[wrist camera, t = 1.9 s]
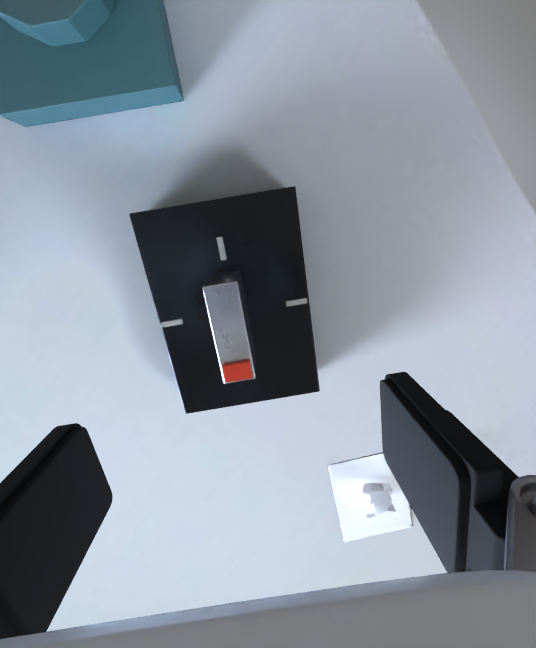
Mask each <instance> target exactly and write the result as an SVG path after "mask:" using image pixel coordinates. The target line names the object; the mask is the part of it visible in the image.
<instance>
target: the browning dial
mask: <svg viewBox="0 0 536 648" xmlns="http://www.w3.org/2000/svg"><path fill="white" fill-rule="evenodd" d="M202 290H203V294H204V299H205V303H206V307H207V312H208V316H209V321H210V325H211V329H212V334H213V338H214V342H215V347H216V351H217V356H218V360H219V364H220V369H221V373H222V378H223V382H224V383H225V384H226V383H232V382H238V381H244V380H250V379H255V378H256V369H255V346H254V340H253V335H252V330H251V324H250V319H249V313H248V308H247V303H246V297H245V292H244V286H243V281H242V276H241V270H240V269H237V270H231V271H225V272H219V273H214V274H212V276H211V277H210V278H209V279H208V281H207V282H206V283H205V284H204V286H203V287H202Z"/></svg>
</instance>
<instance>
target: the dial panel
mask: <svg viewBox="0 0 536 648" xmlns="http://www.w3.org/2000/svg"><path fill="white" fill-rule="evenodd" d="M130 218H131V222H132V225H133V229H134V232H135V236H136V240H137V243H138V247H139V250H140V254H141V257H142V261H143V264H144V268H145V271H146V275H147V279H148V282H149V286H150V289H151V293H152V296H153V300H154V303H155V307H156V310H157V314H158V318H159V321H160V325H161V328H162V332H163V335H164V339H165V342H166V346H167V350H168V353H169V357H170V360H171V364H172V367H173V371H174V374H175V378H176V381H177V385H178V389H179V392H180V396H181V399H182V403H183V406H184V410H185V413H186V414H187V413H193V412H199V411H205V410H211V409H217V408H223V407H229V406H235V405H241V404H247V403H253V402H259V401H265V400H270V399H276V398H282V397H288V396H294V395H300V394H306V393H312V392H318V391H320V389H319V381H318V372H317V364H316V356H315V347H314V339H313V330H312V322H311V314H310V305H309V297H308V289H307V280H306V272H305V264H304V255H303V247H302V239H301V230H300V222H299V213H298V205H297V197H296V188H295V186H293V187H287V188H281V189H275V190H269V191H263V192H257V193H251V194H245V195H239V196H233V197H227V198H221V199H215V200H209V201H203V202H197V203H191V204H185V205H179V206H173V207H167V208H161V209H155V210H149V211H143V212H137V213H131V214H130ZM237 269H240V270H241V276H242V281H243V286H244V292H245V297H246V303H247V308H248V313H249V319H250V324H251V330H252V335H253V340H254V346H255V369H256V378H255V379H250V380H244V381H238V382H232V383H226V384H225V383H224V382H223V378H222V373H221V369H220V364H219V360H218V356H217V351H216V347H215V342H214V338H213V334H212V329H211V325H210V321H209V316H208V312H207V307H206V303H205V299H204V294H203V290H202V287H203V286H204V284H205V283H206V282H207V281H208V279H209V278H210V277H211V276H212V274H214V273H219V272H225V271H231V270H237Z"/></svg>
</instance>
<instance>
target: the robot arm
mask: <svg viewBox="0 0 536 648" xmlns="http://www.w3.org/2000/svg"><path fill="white" fill-rule="evenodd" d="M380 398H381V421H382V444H383V454H384V458H385V461H386V463H387V465H388V467H389V468H390V470H391V472H392V474H393V476H394V477H395V479H396V481H397V483H398V485H399V486H400V488H401V490H402V492H403V494H404V495H405V497H406V499H407V501H408V503H409V504H410V506H411V508H412V510H413V512H414V513H415V515H416V517H417V519H418V520H419V522H420V524H421V526H422V528H423V529H424V531H425V533H426V535H427V537H428V538H429V540H430V542H431V544H432V546H433V547H434V549H435V551H436V553H437V555H438V556H439V558H440V560H441V562H442V564H443V565H444V567H445V569H446V571H447V572H448V573H444V574H436V575H428V576H420V577H412V578H404V579H396V580H388V581H380V582H372V583H365V584H358V585H351V586H345V587H338V588H331V589H324V590H317V591H310V592H304V593H297V594H290V595H283V596H276V597H269V598H263V599H256V600H249V601H242V602H236V603H229V604H223V605H216V606H210V607H203V608H196V609H190V610H183V611H177V612H170V613H164V614H157V615H151V616H144V617H138V618H131V619H125V620H118V621H112V622H105V623H99V624H93V625H86V626H80V627H74V628H68V629H61V630H55V631H49V632H46V631H47V629H48V627H49V625H50V623H51V621H52V619H53V617H54V615H55V614H56V612H57V610H58V608H59V606H60V604H61V602H62V600H63V598H64V596H65V594H66V592H67V590H68V588H69V586H70V584H71V582H72V580H73V578H74V576H75V574H76V572H77V570H78V569H79V567H80V565H81V563H82V561H83V559H84V557H85V555H86V553H87V551H88V549H89V547H90V545H91V543H92V541H93V539H94V537H95V535H96V533H97V531H98V529H99V527H100V525H101V524H102V522H103V520H104V518H105V516H106V514H107V512H108V510H109V508H110V506H111V503H112V492H111V489H110V486H109V484H108V481H107V479H106V476H105V474H104V471H103V469H102V466H101V464H100V461H99V459H98V456H97V454H96V451H95V449H94V446H93V444H92V441H91V439H90V436H89V434H88V431H87V430H86V428H84V427H81V425H79V424H77V423H75V424H69V425H63V426H57V427H56V428H54V429H53V430H52V431H51V432H50V433H49V434H48V435H47V436H46V437H45V438H44V439H43V440H42V441H41V442H40V443H39V444H38V445H37V446H36V447H35V448H34V449H33V450H32V451H31V452H30V453H29V454H28V455H27V457H26V458H25V459H24V460H23V461H22V462H21V463H20V464H19V465H18V466H17V467H16V468H15V469H14V470H13V471H12V472H11V473H10V474H9V475H8V476H7V477H6V478H5V479H4V480H3V481H2V482H1V483H0V648H536V475H527V476H522V477H518V476H517V475H516V474H515V473H514V472H513V471H512V470H511V469H509V468H508V467H507V466H506V465H505V464H504V463H503V462H502V461H501V460H500V459H499V458H498V457H497V456H496V455H495V454H494V453H493V452H492V451H491V450H490V449H489V448H487V447H486V446H485V445H484V444H483V443H482V442H481V441H480V440H479V439H478V438H477V437H476V436H475V435H474V434H473V433H472V432H471V431H470V430H469V429H468V428H466V427H465V426H464V425H463V424H462V423H461V422H460V421H459V420H458V419H457V418H456V417H455V416H454V415H453V414H452V413H450V412H449V411H448V410H445V409H444V408H443V407H442V406H441V405H440V404H438V403H437V402H436V401H435V400H434V399H433V398H432V397H431V396H430V395H429V394H428V393H427V392H426V391H425V390H424V389H423V388H422V387H421V386H420V385H419V384H418V383H417V382H416V381H415V380H414V379H413V378H412V377H411V376H410V375H409V374H408V373H406V372H400V373H394V374H387V375H386V376H385V380H381V381H380Z"/></svg>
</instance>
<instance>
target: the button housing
mask: <svg viewBox="0 0 536 648" xmlns="http://www.w3.org/2000/svg"><path fill="white" fill-rule="evenodd" d="M179 101H184V98H183V93H182V88H181V84H180V79H179V74H178V69H177V64H176V59H175V55H174V50H173V45H172V40H171V35H170V30H169V26H168V21H167V16H166V11H165V6H164V1H163V0H0V116H2V117H4V118H7V119H9V120H11V121H14V122H16V123H18V124H20V125H23V126H25V127H28V126H34V125H40V124H46V123H52V122H58V121H64V120H70V119H77V118H83V117H89V116H95V115H101V114H107V113H113V112H119V111H125V110H131V109H137V108H143V107H149V106H155V105H161V104H167V103H173V102H179Z"/></svg>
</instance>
